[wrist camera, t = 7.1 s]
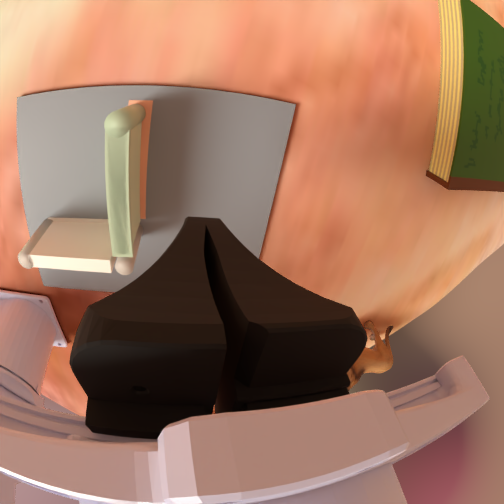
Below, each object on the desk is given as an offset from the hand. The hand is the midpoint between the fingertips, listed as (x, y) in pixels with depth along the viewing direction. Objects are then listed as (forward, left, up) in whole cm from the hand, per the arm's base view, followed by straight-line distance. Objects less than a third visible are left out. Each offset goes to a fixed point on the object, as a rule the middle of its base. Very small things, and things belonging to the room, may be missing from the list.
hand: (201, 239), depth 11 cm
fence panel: (-4, 0, -9) cm, 10 cm away
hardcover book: (+31, +15, -10) cm, 36 cm away
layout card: (-4, -3, -9) cm, 11 cm away
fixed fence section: (-8, -5, -9) cm, 13 cm away
